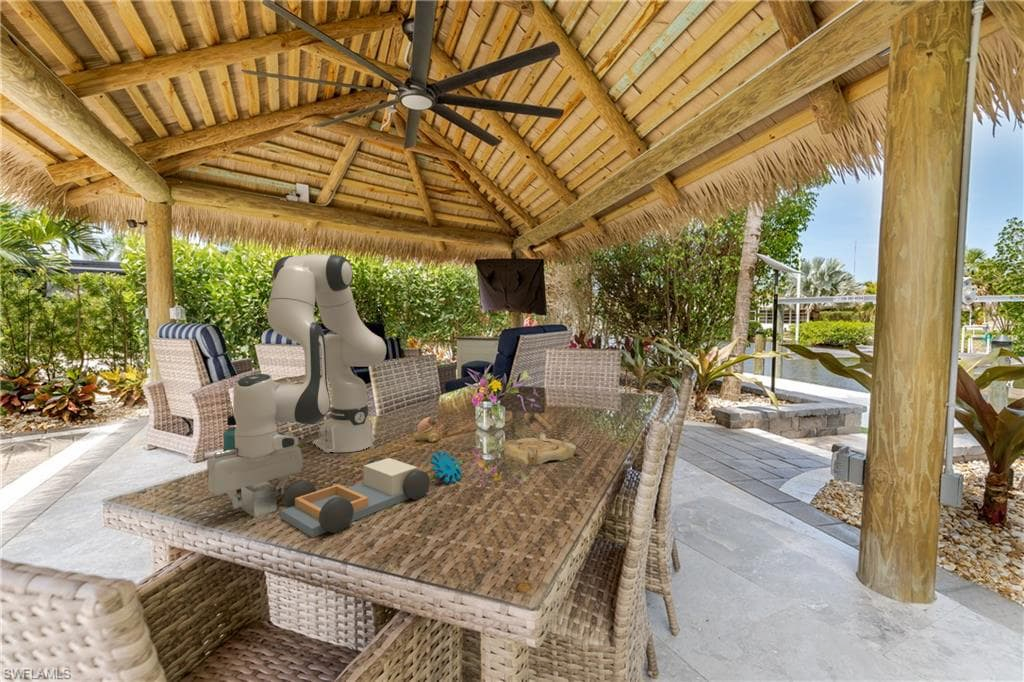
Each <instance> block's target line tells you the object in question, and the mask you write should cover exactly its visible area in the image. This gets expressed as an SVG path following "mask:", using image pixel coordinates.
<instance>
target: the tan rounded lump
mask: <svg viewBox="0 0 1024 682" xmlns="http://www.w3.org/2000/svg"><path fill="white" fill-rule="evenodd" d="M439 422H440V421H439V420H433V419H432V416H428V417H426V418H423V419H422V420H420V421H419V423H418V425H417V427H416V432H415V433H414V434H413V435H412V437H413V439H414V441H415V440H418V441H428V442H430V443H434V442H437V441H439V438H440V437H441V435H440V434H439V432H440V430H441V427H440V426H438V429H436V428H435V427H436V426H437V425H438V424H439Z"/></svg>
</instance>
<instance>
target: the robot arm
mask: <svg viewBox="0 0 1024 682" xmlns="http://www.w3.org/2000/svg"><path fill="white" fill-rule="evenodd" d="M272 270H273V271H272V276H273V280H274V282H273V285H272V288H271V292H270V297H269V300H268V301H269V302H268V307H267V322H268V324H269V326H270V327H271V328H272V330H273V331H274V332H275V333H277V334H278V335H280V336H282V338H283V337H284V338H285V339H288V340H289V341H293V342H295V343H297V344H299V345H300V346H301V347H302V350H303V352H304V369H305V370H304V371H305V372H304V373H305V378H304V379H305V380H304V382H303V383H302V384H301V383H299V384H298V383H280V382H276V381H274V380H273V378H272V376H271V375H269V374H267V373H254V374H250V375H246V376H243V377H241V378H240V379H237V381H236V383H235V386H234V390H233V402H232V403H233V415H234V418H235V421H236V425H235V427H236V429H235V448H234V449H230V450H227V451H224V450H223V451H217V452H214V454H213V455H211V456H210V457H209V458H208V459H207V462H206V467H207V471H208V478H207V479H208V480H207V489H208V491H209V492H211V493H212V494H214V495H216V496H219V495H222V494H223V495H224V494H226V495H227V497H229V498H230V500H231V501H232V502H231V503H232V508H234V509H239V508H242V498H240V497H236V496H235V495H237V494H238V493H237V492H238V491H237V490H241V488H245V487H248V486H252V485H256V484H259V483H263V482H266V481H267V482H269V481H273V480H276V479H278V480H279V482H278V484H277V486H276V497H278V496H281V495H284V493H285V489H284V488H285V486H286V484H287V482H288V481H289V476H291V475H295V474H298V473H300V472H301V471H302V469H303V455H302V451H301V449H300V447H299V446H298V445H299V438H298V437H297V436H295V435H292V434H290V433H286V432H278V427H277V425H276V422H278V423H298V424H305V425H311V426H312V425H316V424H318V423H319V422H320V421H322V420H323V419H324V418H325V417H326V416H327V414H328V413H329V412H330V413H329V414H330V415H329V418H328V419H327V420H326V421H324V423H323V424H322V425H321V426H320V428H319V431H318V438H316V439H314V440H312V445H314V444H315V445H316V446H315V445H314V446H315V447H316V448H318V447H319V448H320V450H321V449H322V450H323V451H322V450H321V451H322V452H323V453H325V452H326V454H331V453H330V452H333V453H354V452H359V451H364V450H367V449H368V447H369V448H371V447H372V446H373V445H372V443H373V444H374V442H375V440H376V438H375V437H374V436H373V431H372V421H371V418H369V405H368V404H367V403H368V402H367V401H368V399H367V385H366V382H365V381H364V380H363V379H362V378H361V377H359V376H357V375H355V374H354V372H353V371H352V368H351V367H371V366H377V365H380V364H382V362H383V361H384V360H385V358H386V355H387V344H386V343H385V340H383V338H382V337H381V336H378V335H377V334H376V333H374V332H372V330H370V329H369V328H368V327H367V326H366V325H365V324H364V322H363V321H362V320H361V318H360V316H359V313H358V311H357V308H356V304H355V300H354V296H353V292H352V288H351V284H352V281H353V277H354V276H353V274H354V273H353V267H352V265H351V262H350V261H349V260H348V259H347V258H346V257H345V256H342V255H340V254H332V255H330V254H321V253H318V254H317V253H316V254H315V253H311V254H302V255H294V256H293V255H288V256H283V257H280V258H278V260H277V261H276V262H275V264H274V265H273V269H272ZM316 304H317V307H318V311H319V314H320V318H321V319H320V320H321V321H322V324H323V325H324V327H325V328H326V329H328V330H329V331H332V332H333V333H332V334H331V333H330V334H325V333H324V330H323V328H322V326H321V325H320V324H319V323H317V322H316V318H315V307H316V306H315V305H316ZM327 378H328V379H327ZM328 380H329V382H330V383H329V384H330V387H331V395H332V397H331V398H332V406H331V400H330V392H329V389H328ZM370 446H371V447H370ZM319 448H318V449H319ZM366 448H367V449H366ZM363 449H364V450H363Z"/></svg>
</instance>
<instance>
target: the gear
mask: <svg viewBox="0 0 1024 682" xmlns="http://www.w3.org/2000/svg"><path fill="white" fill-rule="evenodd" d="M449 456H450V453H449V452H448V451H445V452H443V451H442V450H439V451H437V453H434V454H433V455H432V456H431V457H432V460H430V464H431V465H433V466H432V468H431V469H432V472H433V473H436V472H438V473H436V474H435V477H436V478H437V479H439V480H440V479H441V478H442V477H444V476H445V478H444V479H443V482H445V483H446V484H448V483H449V482H451V483H452V484H456V482H457V481H459V480H460V479H462V476H461V474H462V473H463V469H461V468H460V467H461V465H462V464H463V461H462V460H459V461H457V462H455V461H456V460H457V458H456V456H455V455H452V456H450V458H449ZM450 478H451V480H450Z"/></svg>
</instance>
